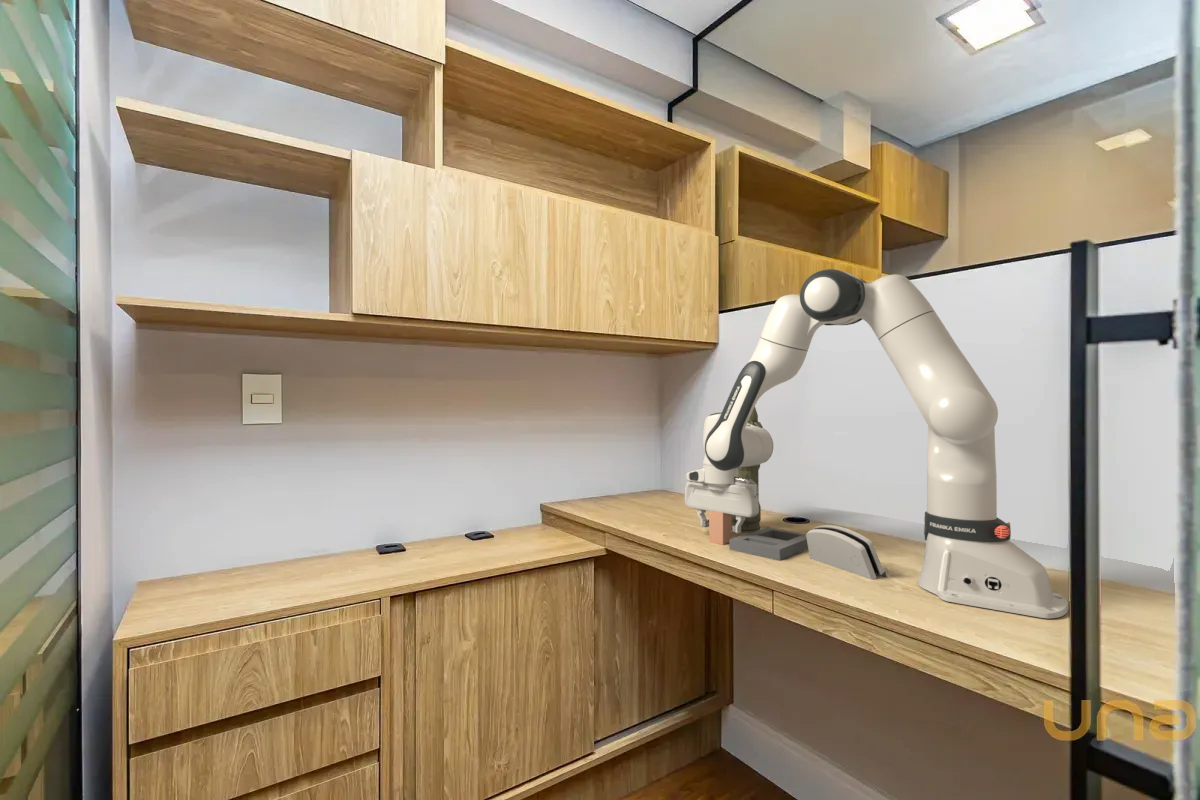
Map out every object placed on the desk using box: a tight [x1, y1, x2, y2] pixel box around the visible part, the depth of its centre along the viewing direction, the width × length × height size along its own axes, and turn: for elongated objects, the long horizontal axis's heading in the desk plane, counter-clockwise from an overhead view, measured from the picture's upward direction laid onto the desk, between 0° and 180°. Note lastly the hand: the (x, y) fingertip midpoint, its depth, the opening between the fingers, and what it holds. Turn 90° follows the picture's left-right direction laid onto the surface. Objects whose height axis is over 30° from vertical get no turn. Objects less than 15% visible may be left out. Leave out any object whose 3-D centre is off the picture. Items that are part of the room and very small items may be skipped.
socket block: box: [729, 526, 809, 561], centre depth 134 cm, size 13×18×2 cm
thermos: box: [732, 406, 764, 533], centre depth 155 cm, size 9×12×35 cm
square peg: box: [708, 511, 733, 546], centre depth 139 cm, size 4×4×8 cm
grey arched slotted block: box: [805, 524, 889, 581], centre depth 117 cm, size 17×5×10 cm, turn 24°
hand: (720, 529), depth 139 cm, fingers open, 8 cm apart
